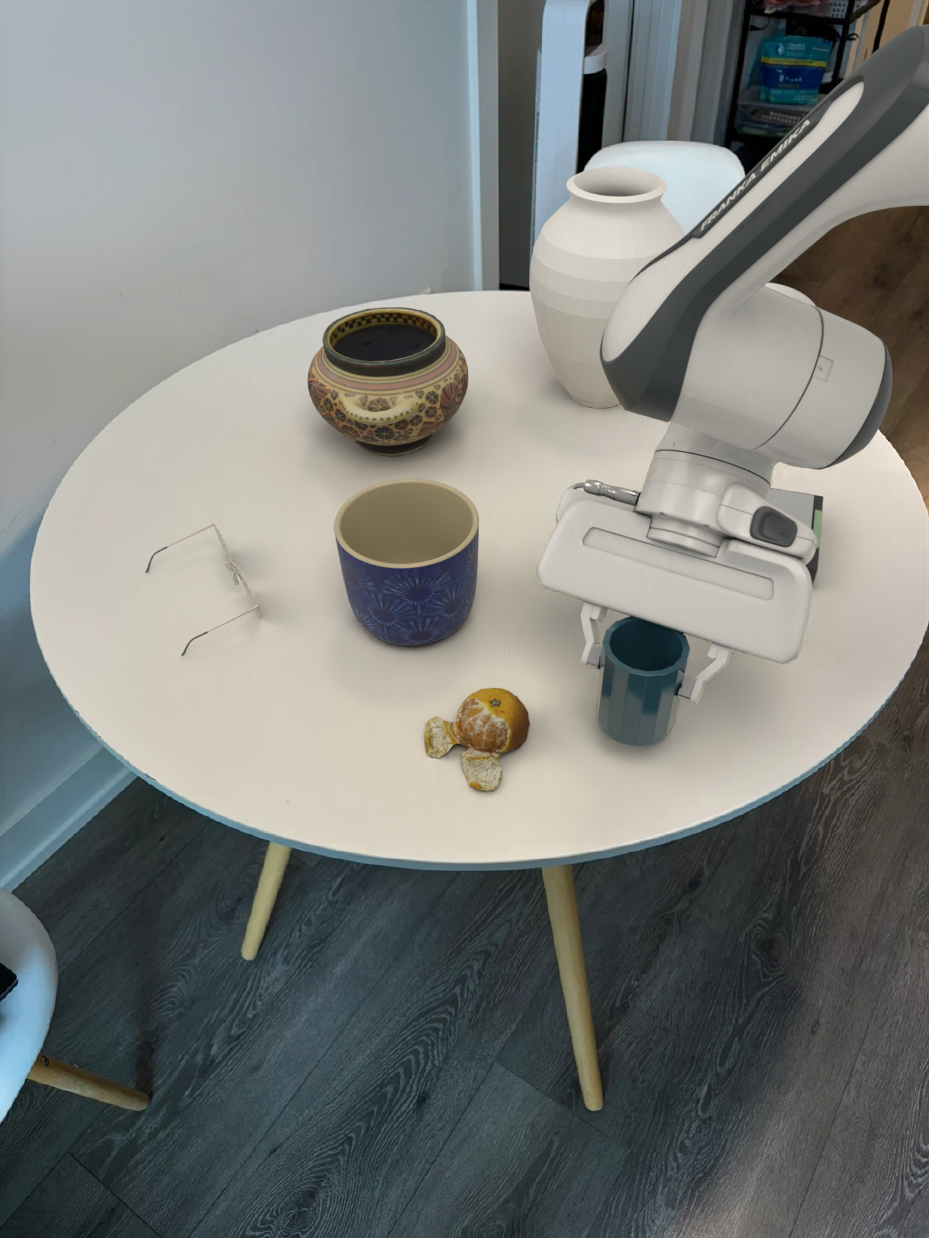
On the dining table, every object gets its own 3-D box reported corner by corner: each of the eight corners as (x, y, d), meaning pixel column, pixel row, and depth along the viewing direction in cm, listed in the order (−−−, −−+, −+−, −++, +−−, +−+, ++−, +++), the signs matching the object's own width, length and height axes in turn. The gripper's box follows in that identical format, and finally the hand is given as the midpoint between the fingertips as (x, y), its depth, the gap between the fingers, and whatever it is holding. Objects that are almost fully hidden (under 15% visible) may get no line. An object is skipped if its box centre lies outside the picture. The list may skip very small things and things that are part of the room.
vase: (606, 345, 123) (624, 144, 106) (701, 401, 113) (739, 186, 95) (498, 385, 116) (498, 176, 99) (588, 448, 105) (607, 226, 88)
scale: (817, 515, 96) (824, 491, 94) (811, 589, 87) (819, 564, 85) (681, 493, 99) (685, 469, 97) (663, 562, 91) (667, 537, 89)
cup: (680, 696, 74) (695, 624, 69) (668, 755, 70) (682, 683, 64) (604, 679, 76) (612, 608, 70) (587, 736, 71) (595, 665, 66)
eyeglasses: (268, 628, 85) (257, 597, 82) (184, 664, 83) (170, 633, 80) (222, 545, 94) (211, 515, 91) (146, 575, 92) (132, 545, 89)
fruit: (411, 741, 75) (408, 711, 73) (482, 686, 79) (482, 656, 77) (484, 800, 71) (484, 771, 68) (556, 739, 75) (558, 709, 72)
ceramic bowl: (358, 400, 120) (315, 291, 110) (490, 371, 115) (457, 256, 106) (321, 515, 102) (265, 398, 92) (475, 487, 98) (433, 361, 88)
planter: (323, 604, 87) (307, 511, 80) (431, 553, 92) (426, 462, 85) (393, 681, 80) (383, 587, 72) (506, 622, 85) (508, 528, 78)
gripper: (559, 463, 70) (501, 637, 70) (838, 538, 62) (770, 732, 63) (579, 481, 75) (525, 642, 76) (836, 552, 68) (774, 729, 69)
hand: (638, 683), depth 69 cm, fingers closed on cup, 6 cm apart
